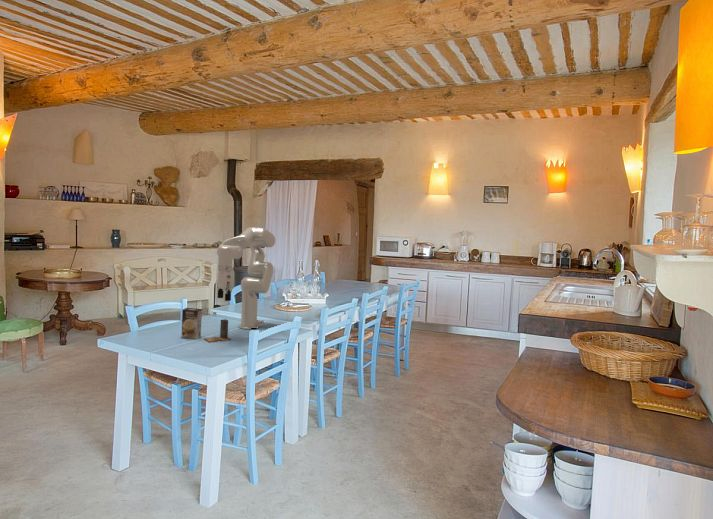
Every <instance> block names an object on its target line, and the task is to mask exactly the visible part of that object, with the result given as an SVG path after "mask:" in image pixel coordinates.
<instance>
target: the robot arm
mask: <svg viewBox="0 0 713 519" xmlns="http://www.w3.org/2000/svg"><path fill="white" fill-rule="evenodd" d="M275 244H276V237H275V235H274V233H272V232H271V231H269V229H267V228H265V227H258V226H250V227H247V228H246V229H244V230H243V232H241V234H239V235H238V236H234V237H232V238H228V239H226V240H224V241H222V242H221V243H220V244H219V245H218V247H217V249H216V253H217V257H218V260H217V265H218V266H217V272H218V274H217V282H216V285H217V286H216V287H217V299H223V298H224V302H231V300H232V292H233V281H234V280H233V273H232V272H233V260H239V259H241V258H242V257H243V255H244V250H243V249H247V248H249V247H250V248H249V249H250V251H251V255H250V258H249V263H248V266H247V274H248V275H249V276H245V277H243V278H242V280H241V282H240V288H241V318H240V320H241V321H240V324H238V329H241V328H242V330H252V329H251V328H257V327H259V328H260V325H261V324H265V323H264V320H260V319H258V303H259V302H258V300H259V299H258V296H257V295H256V294H267V293H268V291H269V290H270V286H271V281H272V279H273V274H274V265H273V264H272V262H269V261H265V257H266V254H265V252H264V250H263V249H262V248H273V247H274V246H275ZM224 291H225V293H224ZM257 329H258V328H257Z"/></svg>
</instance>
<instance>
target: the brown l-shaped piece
mask: <svg viewBox="0 0 713 519" xmlns="http://www.w3.org/2000/svg"><path fill="white" fill-rule="evenodd" d="M219 330H220V334H219V335H220V336H214V337H206V338H205V337H204V338H203V340H204V341H205V342H206V343H211V342H212V343H219V342H218V341H220V342H227V341H226V340H228V341H231V338H229V337H228V336H229V320H228V319H220V329H219Z"/></svg>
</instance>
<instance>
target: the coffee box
mask: <svg viewBox="0 0 713 519" xmlns="http://www.w3.org/2000/svg"><path fill="white" fill-rule="evenodd" d="M202 314H203V309H202V308H195V307H194V308H193V307H185V308H182V312H181V316H182V317H181V336H180V337H181V339H182V338H183V339H189V338H190V339H192V340H197V339H199V338H201V337H202V336H201V335H202V319H203V316H202Z"/></svg>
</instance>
